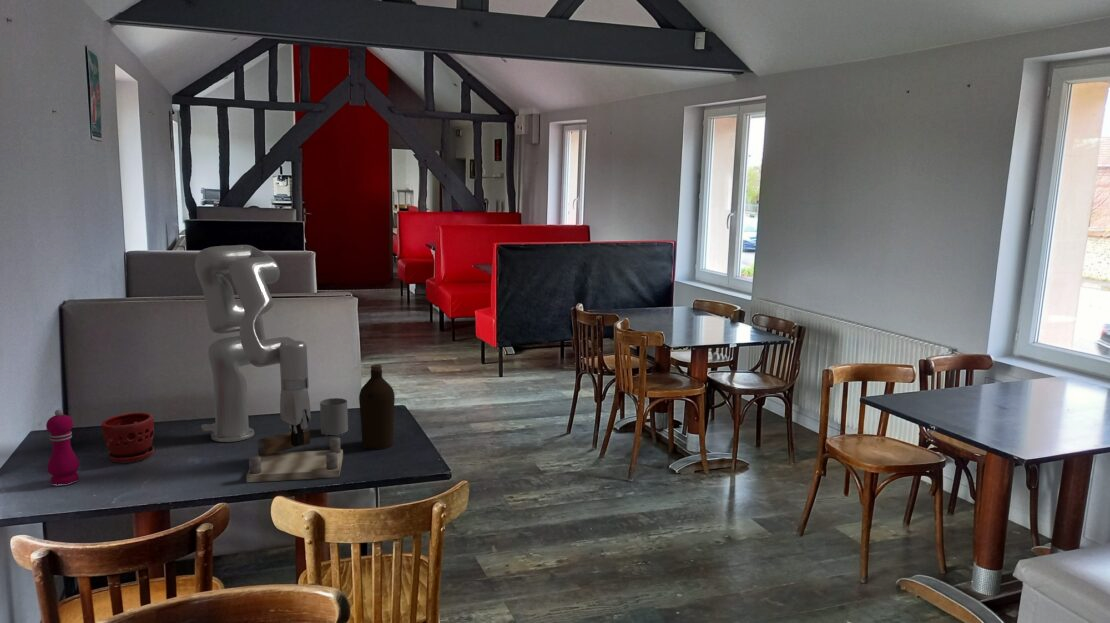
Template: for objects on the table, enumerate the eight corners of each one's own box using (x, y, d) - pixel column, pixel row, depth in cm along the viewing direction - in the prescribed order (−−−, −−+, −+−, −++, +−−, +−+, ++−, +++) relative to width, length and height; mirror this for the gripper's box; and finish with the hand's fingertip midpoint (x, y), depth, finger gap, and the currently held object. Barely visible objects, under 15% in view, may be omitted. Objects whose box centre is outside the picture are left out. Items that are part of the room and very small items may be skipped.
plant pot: (141, 447, 236) (138, 409, 234) (164, 456, 228) (162, 417, 226) (95, 459, 225) (92, 419, 223) (118, 469, 218) (115, 428, 216)
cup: (319, 429, 255) (318, 399, 254) (345, 426, 259) (344, 397, 257) (323, 437, 248) (322, 406, 246) (349, 433, 251) (349, 403, 250)
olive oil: (397, 448, 238) (396, 368, 234) (361, 451, 235) (359, 370, 231) (393, 437, 248) (391, 360, 244) (358, 440, 245) (356, 362, 241)
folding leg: (261, 456, 222) (260, 442, 222) (256, 453, 224) (255, 440, 224) (309, 443, 233) (309, 430, 233) (304, 441, 235) (304, 428, 235)
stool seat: (246, 482, 210) (245, 461, 209) (257, 460, 226) (256, 440, 225) (339, 477, 215) (338, 456, 214) (343, 455, 231) (342, 436, 230)
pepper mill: (46, 489, 203) (39, 414, 200) (51, 479, 210) (44, 407, 207) (78, 485, 206) (72, 411, 203) (82, 475, 213) (76, 404, 209)
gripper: (270, 381, 228) (273, 442, 231) (295, 390, 217) (298, 454, 220) (294, 377, 233) (297, 436, 236) (319, 386, 223) (322, 448, 226)
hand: (297, 445), depth 228 cm, fingers closed
